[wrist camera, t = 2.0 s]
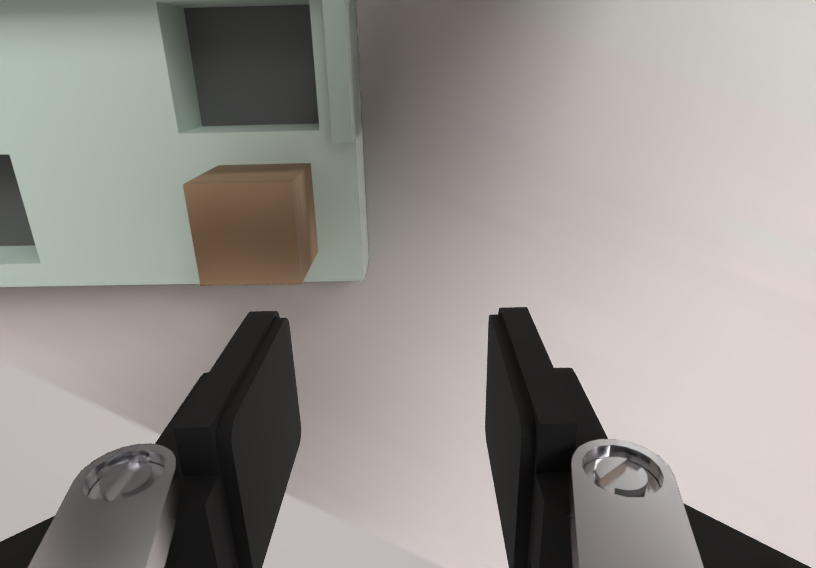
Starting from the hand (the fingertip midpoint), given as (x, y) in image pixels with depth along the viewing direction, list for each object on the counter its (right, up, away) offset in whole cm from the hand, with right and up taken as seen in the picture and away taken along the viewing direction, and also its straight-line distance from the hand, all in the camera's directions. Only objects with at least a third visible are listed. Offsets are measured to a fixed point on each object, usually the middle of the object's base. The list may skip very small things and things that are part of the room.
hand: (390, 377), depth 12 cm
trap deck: (-13, +9, +15) cm, 22 cm away
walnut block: (-6, +5, +13) cm, 16 cm away
